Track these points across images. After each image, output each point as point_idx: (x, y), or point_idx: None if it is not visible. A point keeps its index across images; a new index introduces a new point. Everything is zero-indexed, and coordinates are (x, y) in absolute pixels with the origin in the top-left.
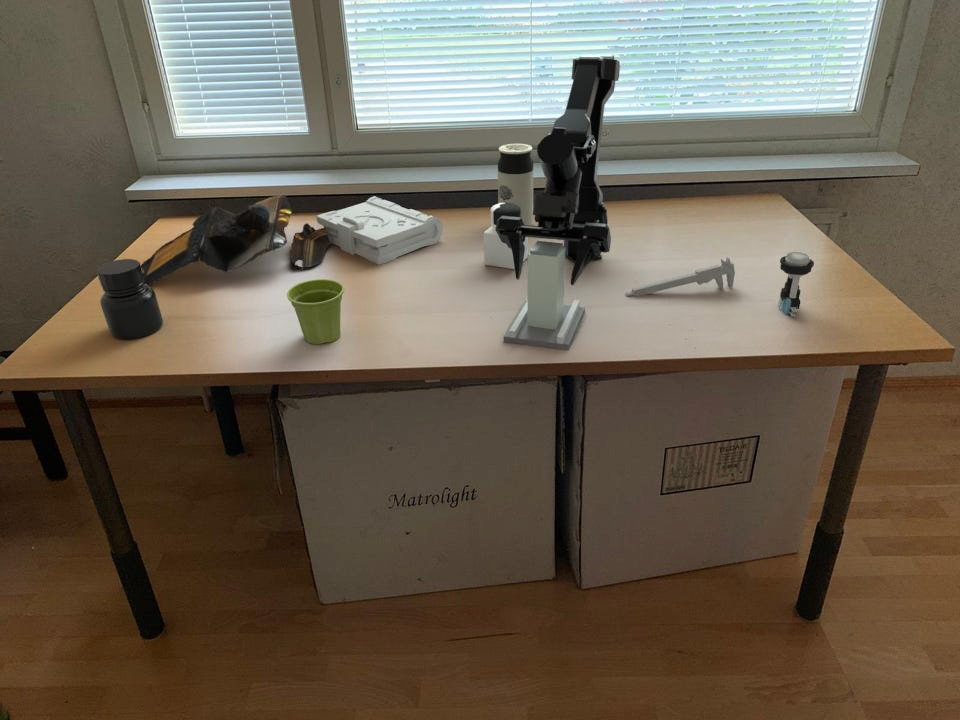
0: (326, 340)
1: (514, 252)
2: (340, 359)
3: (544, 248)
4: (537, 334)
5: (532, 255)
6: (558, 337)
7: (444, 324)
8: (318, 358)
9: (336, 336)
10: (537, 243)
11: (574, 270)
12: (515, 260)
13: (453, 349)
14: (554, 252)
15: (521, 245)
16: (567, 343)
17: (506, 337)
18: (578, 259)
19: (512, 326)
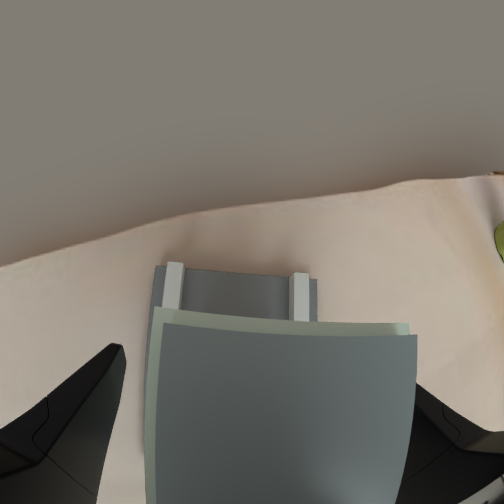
0: (497, 227)
1: (453, 418)
2: (470, 197)
3: (314, 423)
4: (239, 304)
5: (376, 323)
6: (179, 262)
7: (430, 325)
8: (482, 199)
9: (497, 239)
10: (385, 491)
11: (90, 380)
12: (425, 396)
13: (385, 236)
14: (189, 338)
15: (438, 486)
16: (159, 270)
17: (309, 279)
18: (52, 417)
19: (307, 296)
